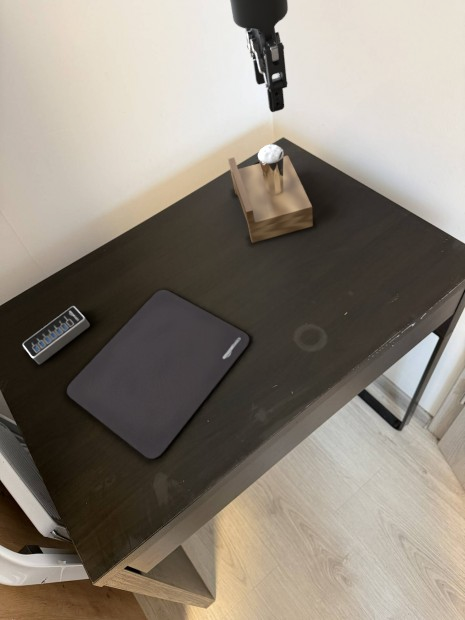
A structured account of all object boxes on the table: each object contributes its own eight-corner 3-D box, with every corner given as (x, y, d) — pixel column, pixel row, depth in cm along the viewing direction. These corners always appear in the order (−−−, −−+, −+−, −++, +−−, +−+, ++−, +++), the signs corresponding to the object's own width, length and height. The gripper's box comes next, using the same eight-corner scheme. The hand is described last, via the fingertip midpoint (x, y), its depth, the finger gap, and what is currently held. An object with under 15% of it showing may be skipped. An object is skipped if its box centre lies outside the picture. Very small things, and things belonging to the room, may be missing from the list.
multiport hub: (27, 350, 84) (21, 343, 82) (78, 312, 87) (73, 304, 86) (39, 365, 82) (32, 358, 80) (90, 325, 85) (85, 318, 83)
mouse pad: (154, 464, 68) (154, 463, 68) (62, 391, 78) (62, 391, 78) (253, 337, 78) (253, 337, 78) (161, 287, 87) (161, 286, 87)
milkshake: (276, 202, 88) (271, 158, 80) (258, 190, 91) (251, 146, 83) (294, 190, 89) (291, 145, 81) (275, 178, 92) (270, 133, 84)
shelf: (289, 175, 100) (286, 142, 93) (313, 226, 90) (311, 194, 84) (234, 190, 100) (228, 158, 93) (252, 243, 90) (246, 212, 84)
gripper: (300, -10, 57) (306, 112, 70) (270, -48, 65) (280, 67, 78) (240, 7, 57) (257, 126, 70) (217, -33, 65) (237, 80, 78)
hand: (269, 95), depth 74 cm, fingers open, 8 cm apart
